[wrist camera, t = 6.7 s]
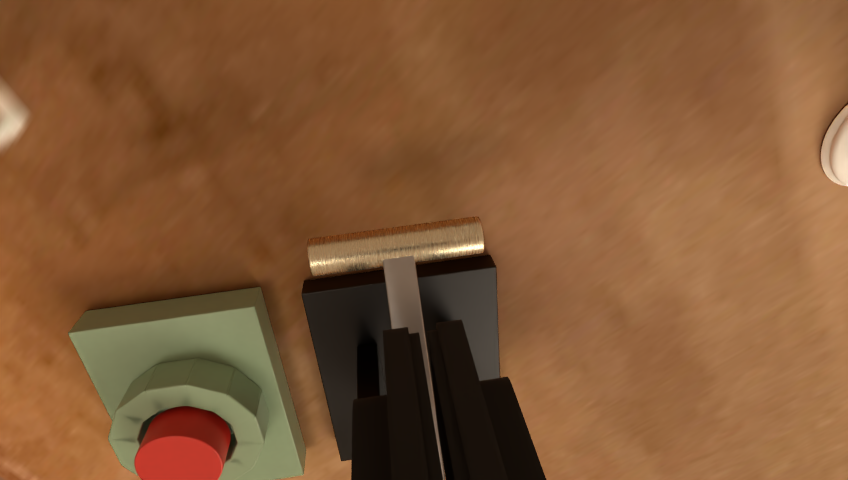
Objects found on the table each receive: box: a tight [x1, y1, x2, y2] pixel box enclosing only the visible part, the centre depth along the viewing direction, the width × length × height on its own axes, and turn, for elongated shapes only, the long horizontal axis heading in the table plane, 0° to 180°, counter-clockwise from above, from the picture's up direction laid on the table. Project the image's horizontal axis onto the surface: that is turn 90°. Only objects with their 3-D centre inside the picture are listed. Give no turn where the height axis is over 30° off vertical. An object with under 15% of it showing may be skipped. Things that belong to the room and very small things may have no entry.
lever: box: [307, 216, 484, 480], centre depth 18 cm, size 13×6×2 cm, turn 5°
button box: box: [68, 287, 306, 480], centre depth 25 cm, size 11×8×4 cm
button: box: [134, 406, 231, 480], centre depth 23 cm, size 4×4×2 cm
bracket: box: [302, 255, 500, 461], centre depth 22 cm, size 11×9×13 cm
